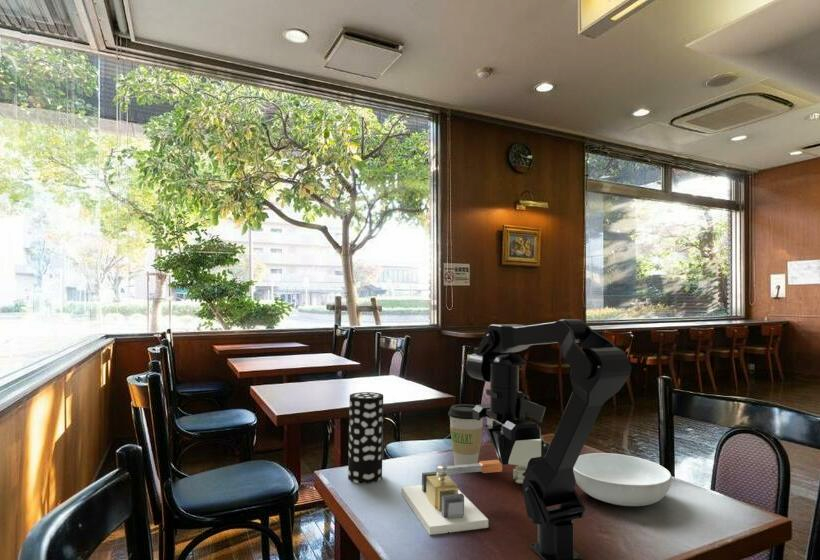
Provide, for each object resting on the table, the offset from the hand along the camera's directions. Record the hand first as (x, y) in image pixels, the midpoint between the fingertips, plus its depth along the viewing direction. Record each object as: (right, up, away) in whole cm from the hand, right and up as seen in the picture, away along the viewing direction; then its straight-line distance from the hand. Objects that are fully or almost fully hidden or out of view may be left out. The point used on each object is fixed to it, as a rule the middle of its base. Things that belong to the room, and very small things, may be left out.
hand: (503, 463), depth 99 cm
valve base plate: (-12, -11, +4) cm, 17 cm away
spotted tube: (-30, -12, +22) cm, 39 cm away
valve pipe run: (-12, -10, +4) cm, 16 cm away
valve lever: (-6, -5, +6) cm, 10 cm away
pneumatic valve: (+9, -12, +20) cm, 25 cm away
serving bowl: (+28, -12, +11) cm, 33 cm away
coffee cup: (-4, -12, +32) cm, 35 cm away
